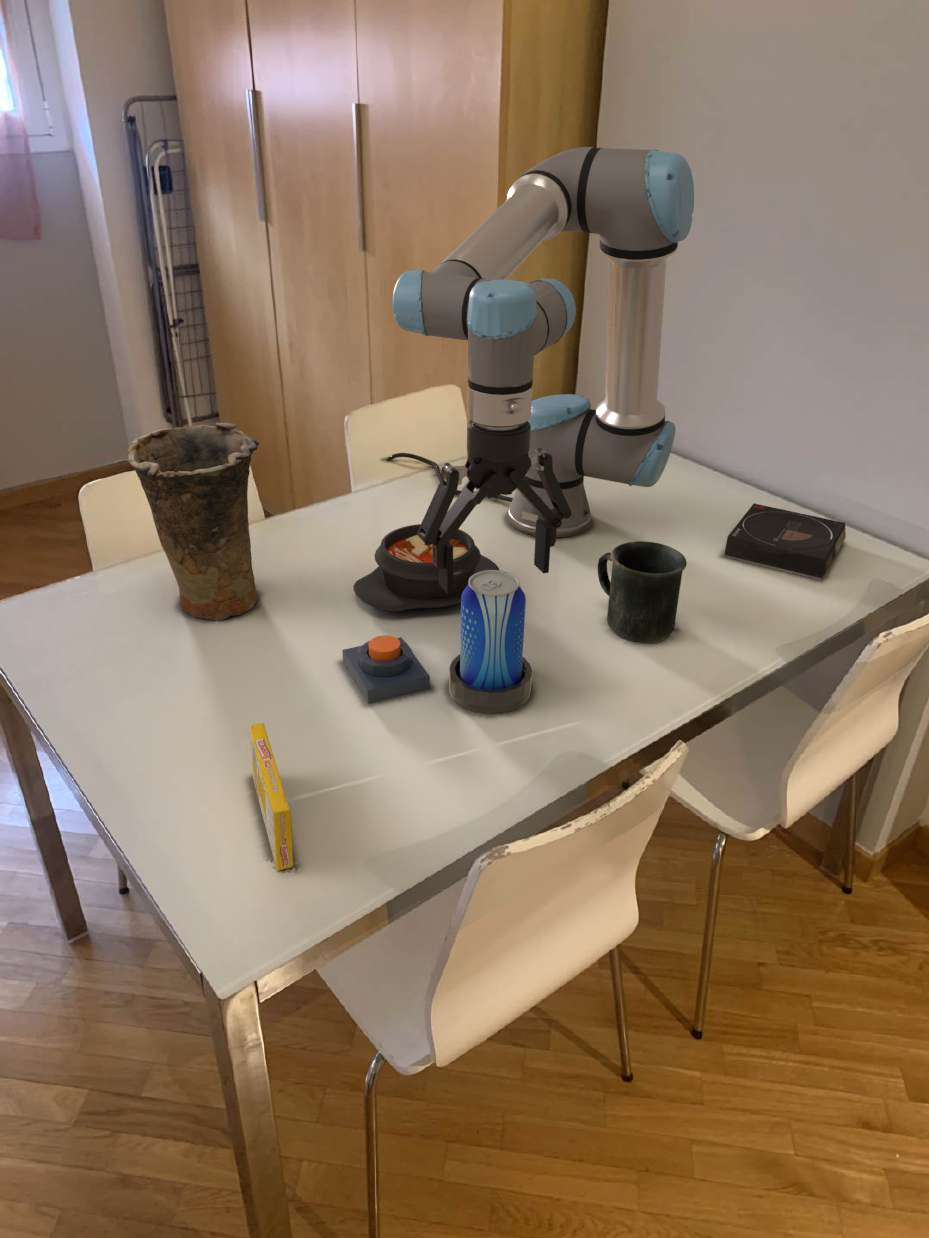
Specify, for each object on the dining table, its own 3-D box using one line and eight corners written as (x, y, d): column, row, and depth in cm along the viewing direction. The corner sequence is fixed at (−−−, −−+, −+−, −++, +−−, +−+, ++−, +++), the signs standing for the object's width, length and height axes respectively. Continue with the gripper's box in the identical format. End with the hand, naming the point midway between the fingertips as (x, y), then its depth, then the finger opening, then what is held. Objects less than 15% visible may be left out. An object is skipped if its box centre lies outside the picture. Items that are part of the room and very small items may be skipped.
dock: (436, 678, 137) (436, 657, 135) (508, 661, 141) (509, 640, 139) (469, 722, 128) (470, 700, 126) (544, 703, 132) (546, 681, 130)
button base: (342, 662, 140) (341, 638, 138) (401, 649, 143) (401, 626, 141) (368, 703, 131) (367, 679, 129) (430, 689, 134) (429, 664, 132)
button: (364, 649, 136) (364, 638, 135) (394, 643, 138) (393, 632, 137) (375, 665, 133) (374, 654, 132) (405, 658, 134) (405, 647, 134)
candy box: (296, 867, 105) (290, 809, 101) (276, 872, 104) (270, 813, 100) (270, 775, 118) (264, 720, 114) (252, 779, 118) (245, 724, 113)
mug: (646, 654, 143) (655, 582, 137) (572, 616, 152) (578, 547, 146) (691, 629, 149) (702, 559, 143) (618, 594, 158) (625, 527, 152)
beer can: (457, 668, 137) (459, 567, 129) (517, 666, 138) (522, 565, 130) (462, 702, 130) (464, 598, 122) (524, 700, 131) (530, 596, 123)
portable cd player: (824, 580, 163) (828, 559, 161) (724, 556, 171) (727, 536, 169) (844, 543, 176) (848, 523, 174) (750, 523, 183) (753, 503, 181)
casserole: (393, 636, 146) (391, 587, 142) (332, 587, 159) (329, 541, 155) (523, 591, 159) (525, 544, 155) (457, 548, 172) (458, 505, 168)
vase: (288, 612, 152) (272, 449, 138) (171, 642, 144) (142, 472, 130) (250, 565, 165) (233, 412, 151) (141, 590, 157) (112, 431, 144)
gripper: (411, 446, 107) (415, 611, 118) (606, 416, 116) (593, 573, 127) (388, 424, 113) (393, 583, 124) (575, 397, 122) (565, 548, 133)
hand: (494, 578), depth 126 cm, fingers open, 13 cm apart
